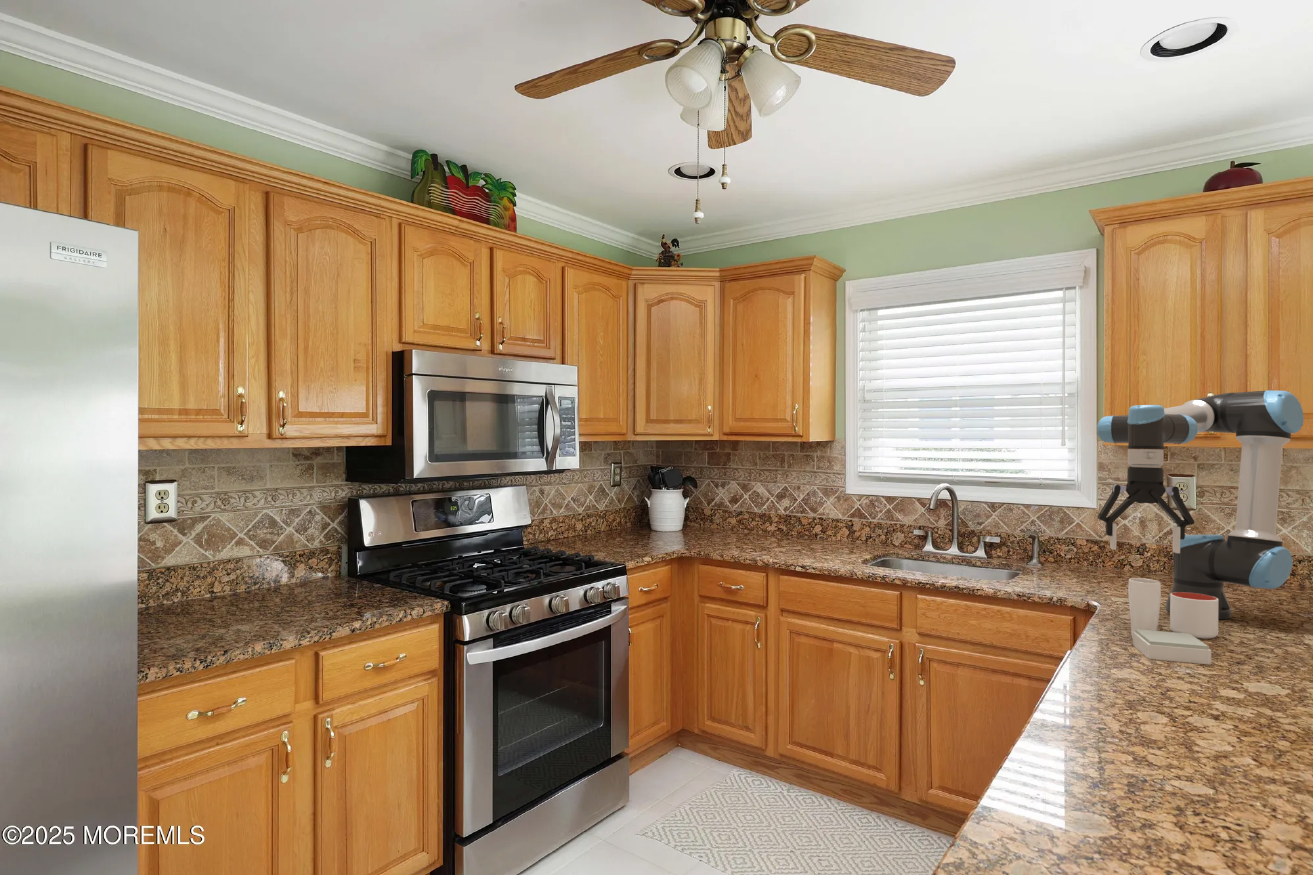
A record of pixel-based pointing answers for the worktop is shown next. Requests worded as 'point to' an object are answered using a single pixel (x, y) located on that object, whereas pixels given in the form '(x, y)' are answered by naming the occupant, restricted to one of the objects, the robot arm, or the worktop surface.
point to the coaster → (1171, 646)
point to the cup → (1194, 614)
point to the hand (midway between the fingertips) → (1144, 550)
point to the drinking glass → (1144, 603)
